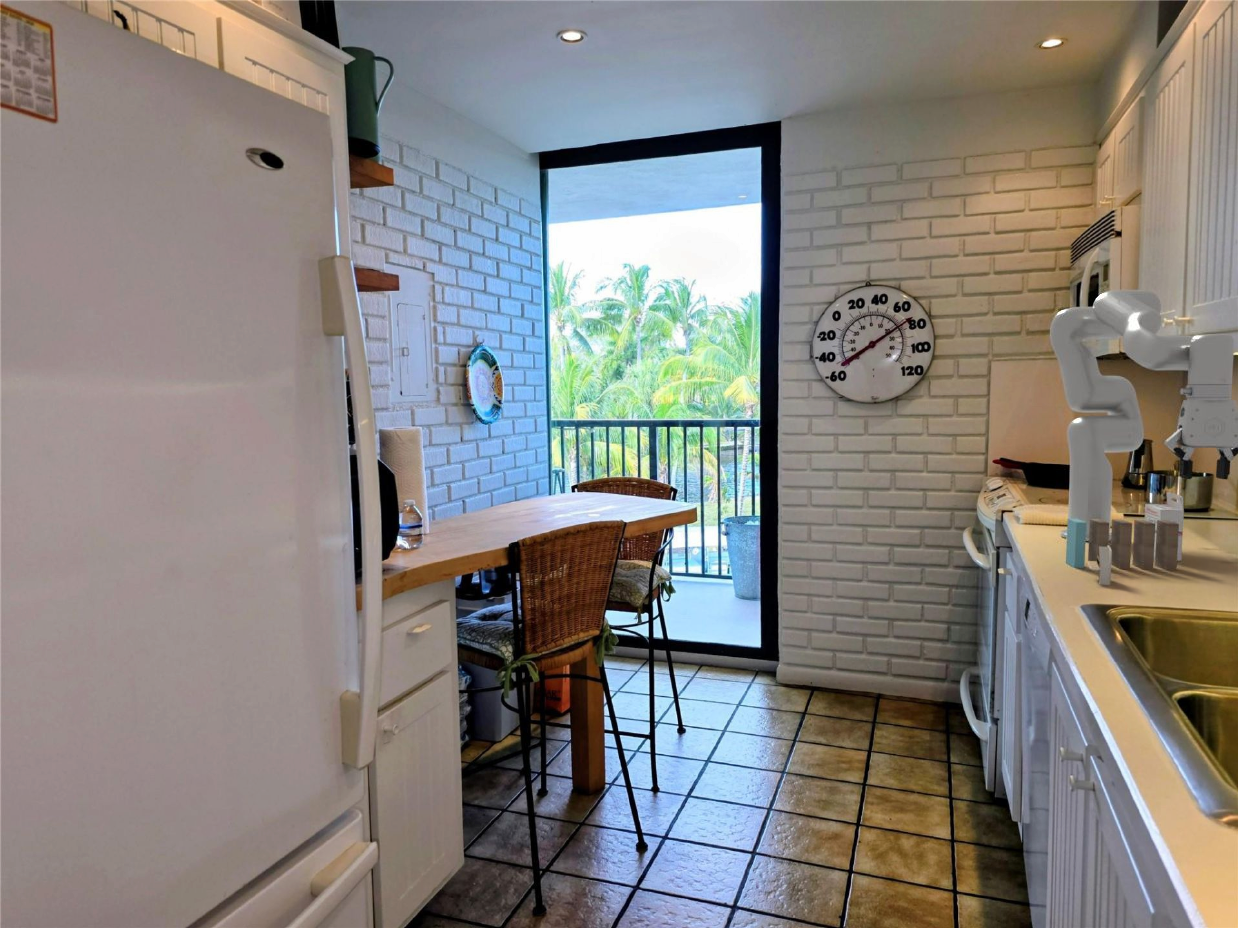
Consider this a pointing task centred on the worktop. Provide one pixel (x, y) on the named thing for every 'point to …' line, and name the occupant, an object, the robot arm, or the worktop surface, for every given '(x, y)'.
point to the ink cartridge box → (1167, 516)
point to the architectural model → (1103, 565)
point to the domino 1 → (1076, 543)
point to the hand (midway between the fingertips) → (1204, 477)
